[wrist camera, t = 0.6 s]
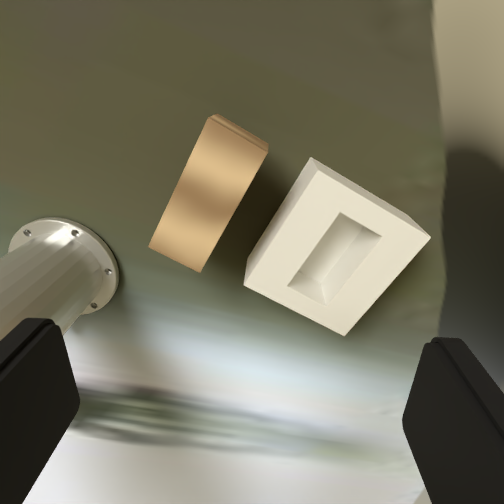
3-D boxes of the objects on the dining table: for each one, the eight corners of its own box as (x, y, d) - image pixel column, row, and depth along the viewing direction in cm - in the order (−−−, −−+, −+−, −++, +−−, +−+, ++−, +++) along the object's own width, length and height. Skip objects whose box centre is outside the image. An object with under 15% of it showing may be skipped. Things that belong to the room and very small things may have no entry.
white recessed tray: (334, 303, 41) (344, 336, 36) (247, 257, 39) (243, 285, 34) (407, 214, 36) (431, 237, 30) (310, 156, 34) (318, 169, 28)
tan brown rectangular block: (214, 235, 38) (199, 272, 30) (173, 214, 37) (148, 246, 30) (268, 137, 33) (267, 152, 26) (223, 110, 32) (208, 117, 25)
